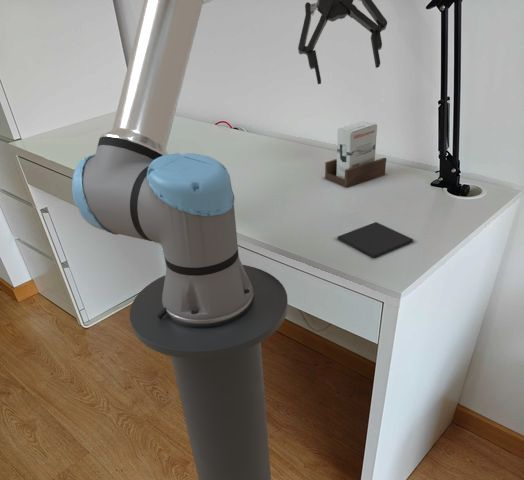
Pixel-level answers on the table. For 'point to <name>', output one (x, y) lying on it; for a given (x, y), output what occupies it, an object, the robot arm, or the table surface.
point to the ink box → (355, 146)
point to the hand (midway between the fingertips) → (348, 74)
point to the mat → (375, 239)
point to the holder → (355, 172)
